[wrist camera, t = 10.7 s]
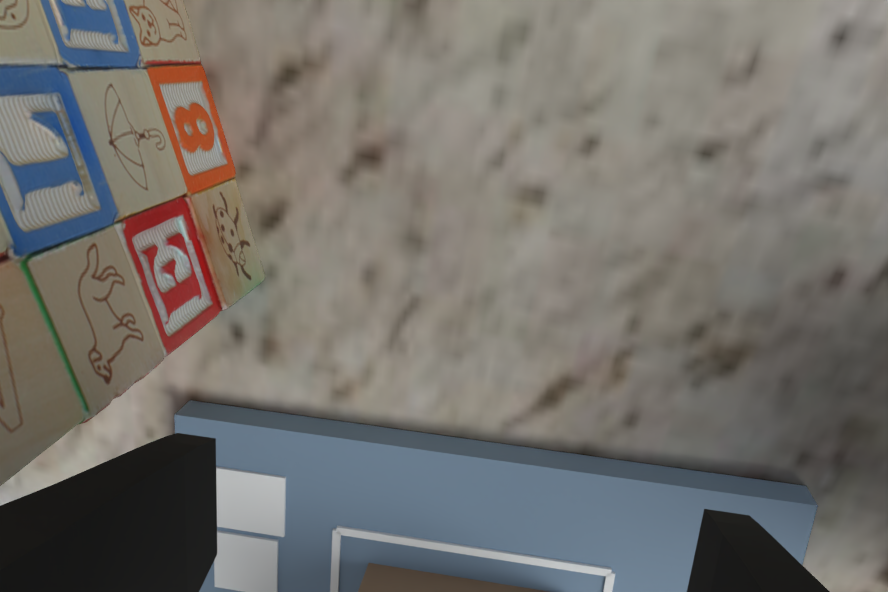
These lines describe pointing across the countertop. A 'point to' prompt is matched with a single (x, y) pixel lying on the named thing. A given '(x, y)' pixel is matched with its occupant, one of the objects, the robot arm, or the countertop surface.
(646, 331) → the countertop surface
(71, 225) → the stack of blocks
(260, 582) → the blueprint board
